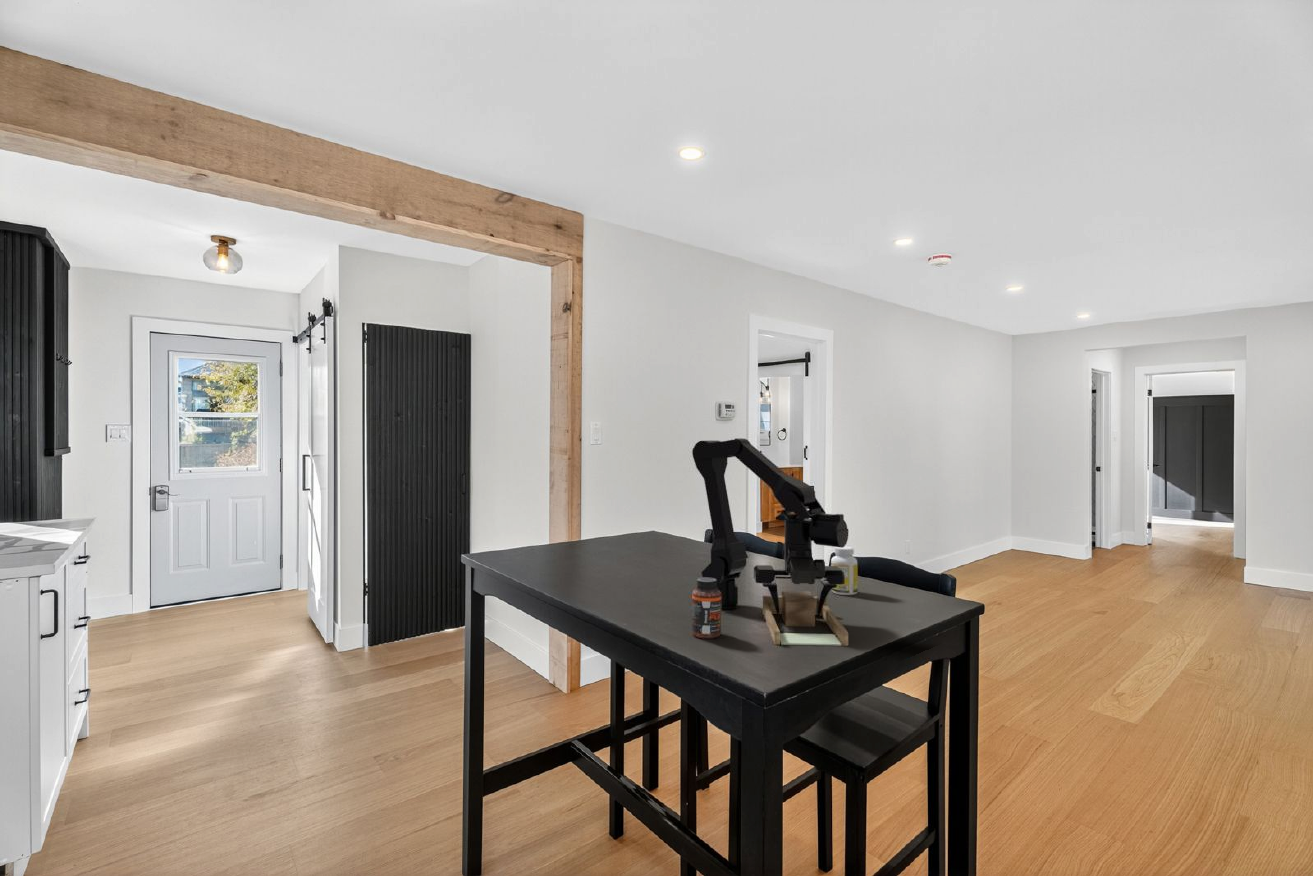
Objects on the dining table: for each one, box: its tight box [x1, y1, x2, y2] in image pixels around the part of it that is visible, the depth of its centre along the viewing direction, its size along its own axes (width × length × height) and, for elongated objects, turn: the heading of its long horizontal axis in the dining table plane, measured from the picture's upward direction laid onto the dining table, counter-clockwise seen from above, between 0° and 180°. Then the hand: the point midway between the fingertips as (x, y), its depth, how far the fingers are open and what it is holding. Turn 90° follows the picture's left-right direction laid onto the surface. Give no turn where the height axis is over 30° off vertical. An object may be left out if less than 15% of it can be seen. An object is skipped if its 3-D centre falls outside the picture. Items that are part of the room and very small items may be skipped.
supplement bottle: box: [691, 577, 722, 640], centre depth 125 cm, size 6×6×11 cm
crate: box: [781, 590, 816, 627], centre depth 134 cm, size 6×6×6 cm
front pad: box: [780, 632, 842, 647], centre depth 122 cm, size 11×6×1 cm, turn 86°
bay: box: [762, 595, 849, 647], centre depth 130 cm, size 14×21×4 cm, turn 176°
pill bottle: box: [830, 545, 859, 596], centre depth 159 cm, size 6×6×12 cm
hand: (798, 614), depth 134 cm, fingers open, 8 cm apart
